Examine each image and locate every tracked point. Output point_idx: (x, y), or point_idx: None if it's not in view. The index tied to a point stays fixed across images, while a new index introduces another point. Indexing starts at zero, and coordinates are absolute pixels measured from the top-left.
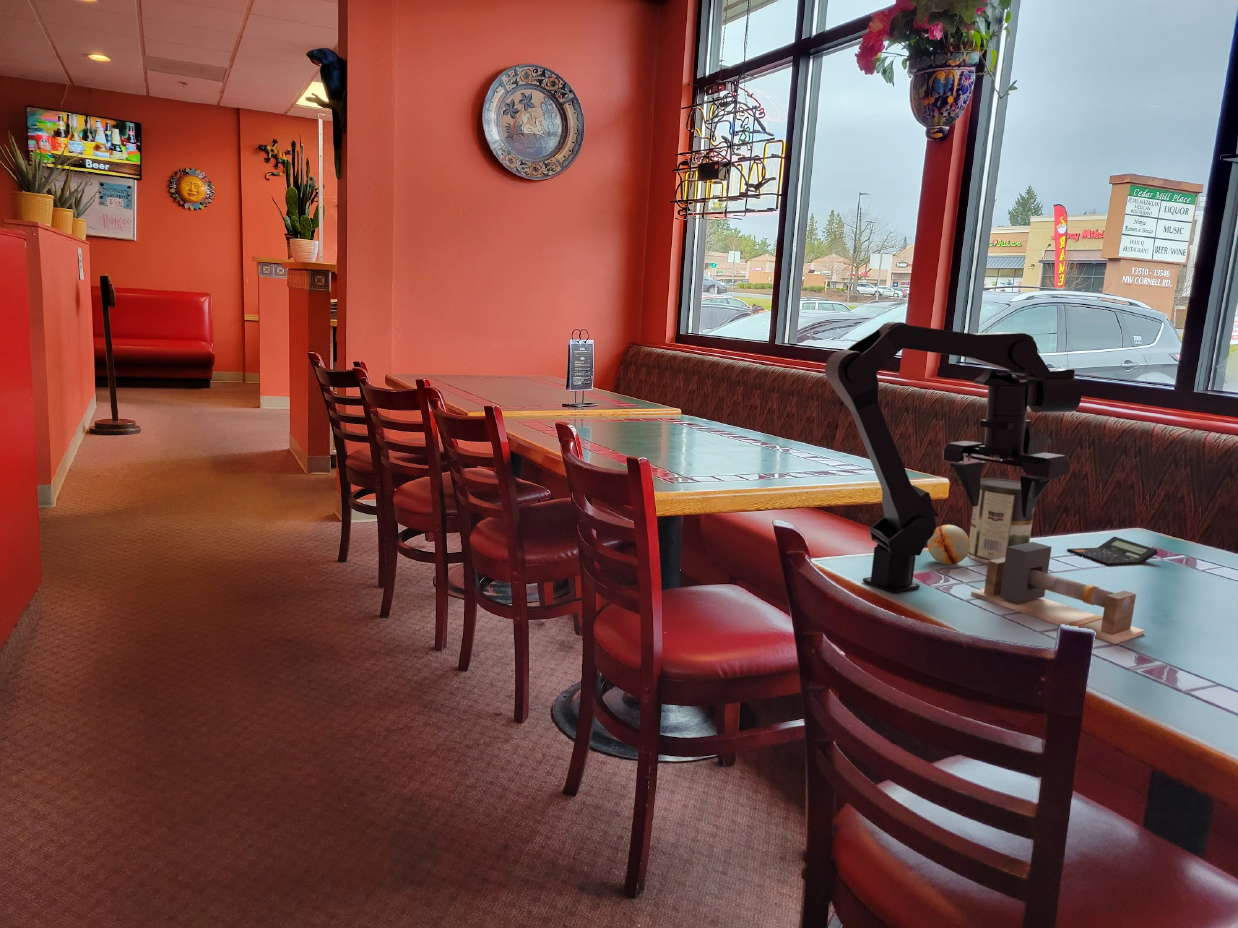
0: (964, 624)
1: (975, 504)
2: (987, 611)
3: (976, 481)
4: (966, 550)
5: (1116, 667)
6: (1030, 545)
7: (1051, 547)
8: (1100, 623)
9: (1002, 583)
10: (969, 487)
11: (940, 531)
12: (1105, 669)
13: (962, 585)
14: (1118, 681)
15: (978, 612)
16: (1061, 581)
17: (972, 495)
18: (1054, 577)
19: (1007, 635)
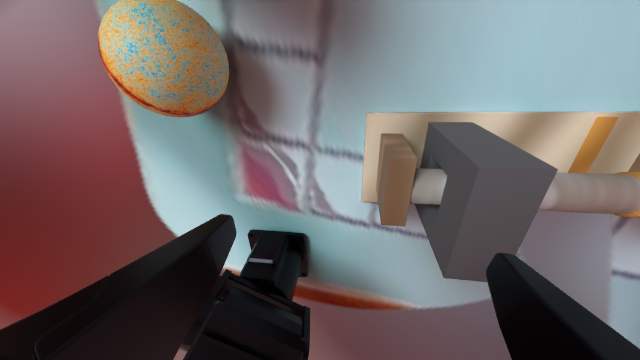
0: (421, 293)
1: (232, 234)
2: (416, 237)
3: (133, 339)
4: (221, 57)
5: (632, 284)
6: (488, 216)
7: (555, 168)
8: (608, 158)
9: (420, 216)
10: (182, 339)
11: (150, 106)
12: (616, 297)
13: (320, 164)
14: (634, 314)
15: (410, 250)
16: (563, 210)
17: (210, 285)
18: (544, 206)
19: (476, 288)
